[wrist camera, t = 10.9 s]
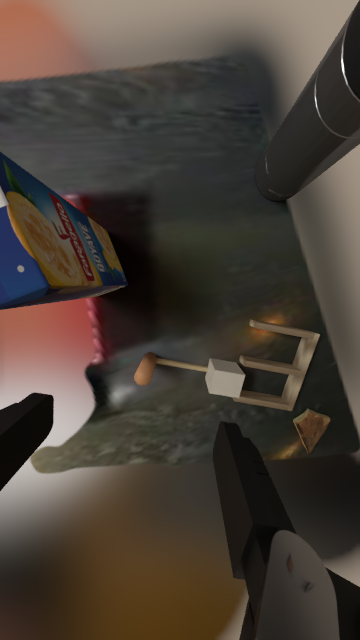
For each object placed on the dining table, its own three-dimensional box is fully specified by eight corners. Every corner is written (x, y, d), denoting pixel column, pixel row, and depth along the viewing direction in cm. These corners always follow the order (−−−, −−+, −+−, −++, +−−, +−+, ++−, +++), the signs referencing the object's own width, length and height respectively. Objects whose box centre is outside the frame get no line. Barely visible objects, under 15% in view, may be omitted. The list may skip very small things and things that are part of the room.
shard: (304, 449, 44) (310, 456, 42) (278, 439, 43) (282, 446, 42) (327, 414, 42) (333, 420, 40) (299, 404, 41) (305, 409, 40)
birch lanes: (250, 319, 37) (256, 322, 34) (308, 330, 37) (320, 334, 34) (230, 392, 40) (234, 400, 37) (283, 401, 41) (291, 410, 38)
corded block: (145, 347, 38) (136, 363, 30) (236, 362, 39) (250, 382, 31) (142, 367, 39) (132, 388, 31) (230, 382, 40) (243, 406, 32)
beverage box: (106, 230, 33) (-28, 130, 12) (128, 285, 35) (49, 286, 14) (74, 242, 34) (-112, 168, 12) (98, 296, 36) (-26, 314, 14)
